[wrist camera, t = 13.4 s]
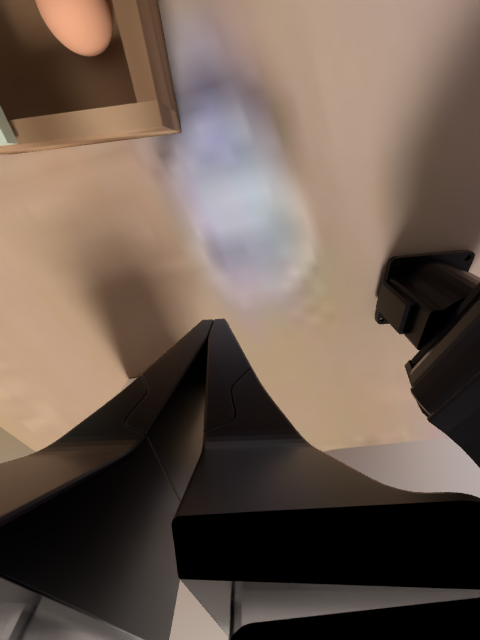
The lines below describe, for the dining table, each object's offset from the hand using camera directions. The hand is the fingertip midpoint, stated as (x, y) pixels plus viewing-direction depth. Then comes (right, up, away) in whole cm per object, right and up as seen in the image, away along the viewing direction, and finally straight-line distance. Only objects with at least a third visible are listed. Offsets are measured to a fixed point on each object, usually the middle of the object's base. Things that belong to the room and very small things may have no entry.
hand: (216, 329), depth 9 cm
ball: (-7, +15, +3) cm, 17 cm away
